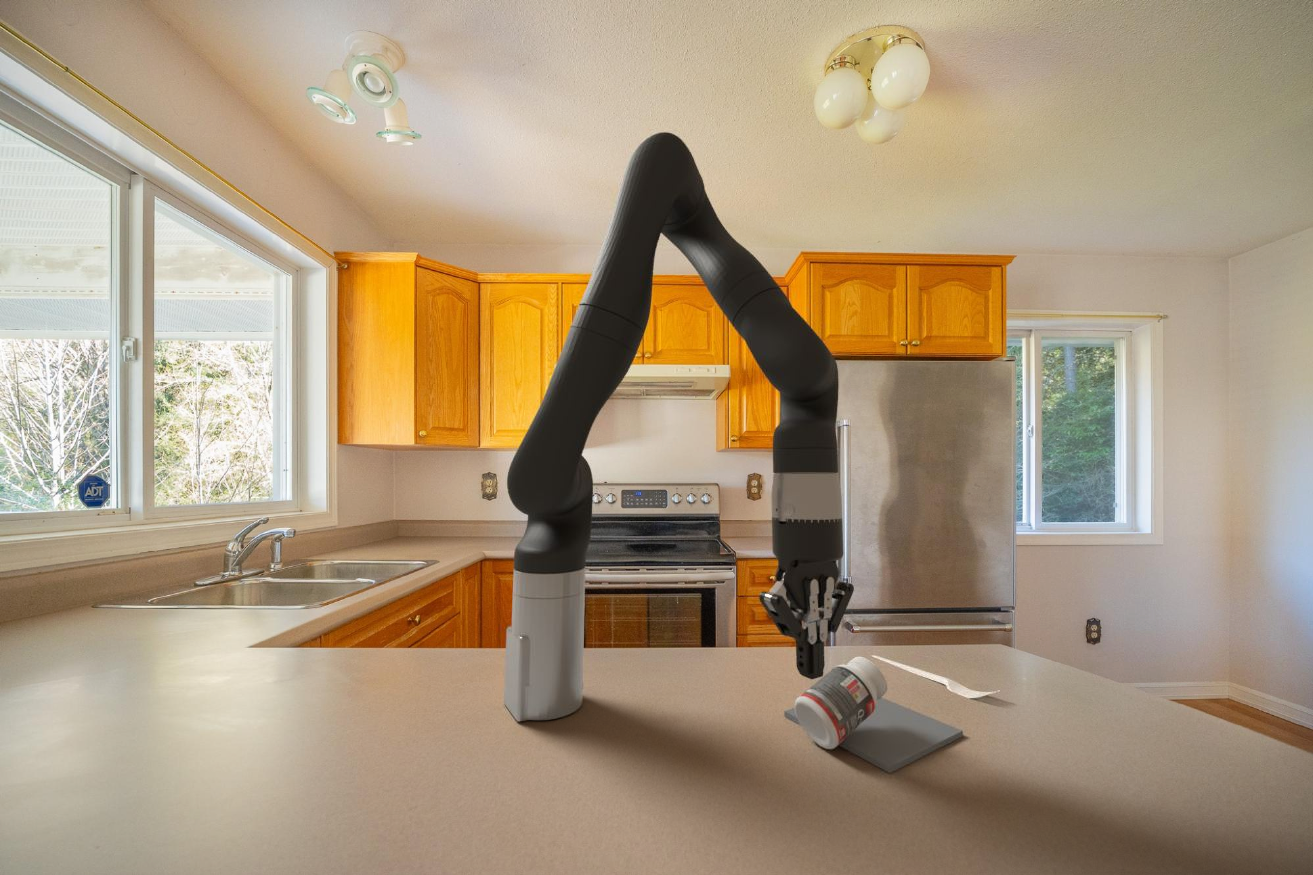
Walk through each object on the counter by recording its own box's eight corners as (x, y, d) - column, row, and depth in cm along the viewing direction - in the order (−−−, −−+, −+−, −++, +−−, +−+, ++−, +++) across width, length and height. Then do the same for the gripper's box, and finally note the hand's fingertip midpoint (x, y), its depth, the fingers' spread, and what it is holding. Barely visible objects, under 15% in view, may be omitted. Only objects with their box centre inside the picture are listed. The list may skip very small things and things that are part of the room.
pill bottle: (843, 746, 50) (901, 691, 55) (804, 693, 53) (863, 645, 57) (819, 755, 54) (875, 703, 59) (785, 706, 57) (841, 659, 62)
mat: (889, 773, 49) (889, 766, 49) (784, 716, 61) (784, 711, 61) (963, 736, 57) (962, 730, 57) (856, 691, 69) (856, 687, 69)
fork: (878, 658, 84) (878, 647, 84) (1004, 704, 66) (1003, 689, 66) (865, 661, 82) (864, 649, 83) (988, 708, 64) (987, 693, 65)
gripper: (819, 510, 62) (823, 654, 60) (738, 514, 55) (740, 677, 53) (873, 514, 56) (879, 675, 54) (789, 518, 49) (793, 703, 47)
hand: (810, 675), depth 54 cm, fingers closed
